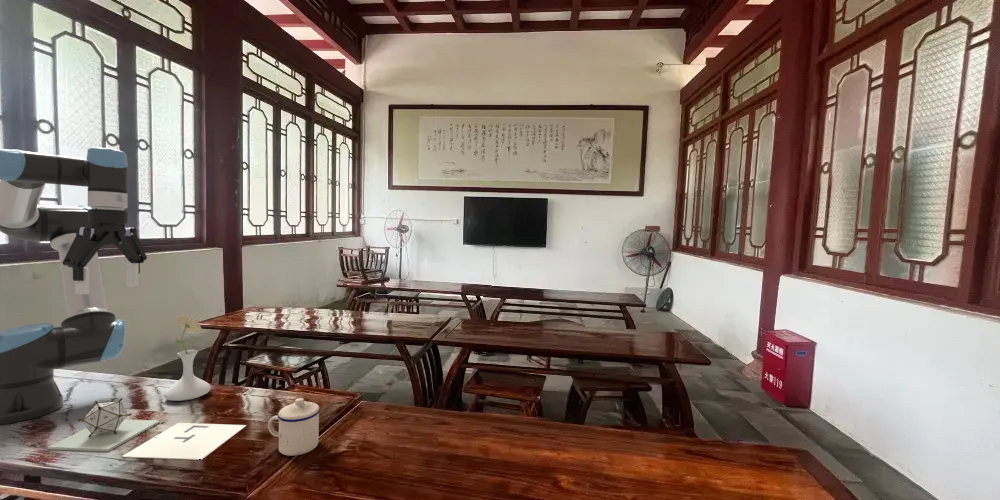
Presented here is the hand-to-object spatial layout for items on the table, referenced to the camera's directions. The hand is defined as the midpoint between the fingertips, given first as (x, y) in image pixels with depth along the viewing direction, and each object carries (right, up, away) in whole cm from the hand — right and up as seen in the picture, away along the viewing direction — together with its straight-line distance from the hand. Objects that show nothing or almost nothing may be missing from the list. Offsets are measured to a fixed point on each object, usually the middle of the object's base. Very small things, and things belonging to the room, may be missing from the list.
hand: (109, 290), depth 107 cm
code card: (+27, -36, -7) cm, 45 cm away
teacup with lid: (+53, -37, -9) cm, 65 cm away
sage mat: (+6, -35, -6) cm, 36 cm away
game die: (+6, -35, -7) cm, 36 cm away
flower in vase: (+7, -34, +18) cm, 39 cm away
